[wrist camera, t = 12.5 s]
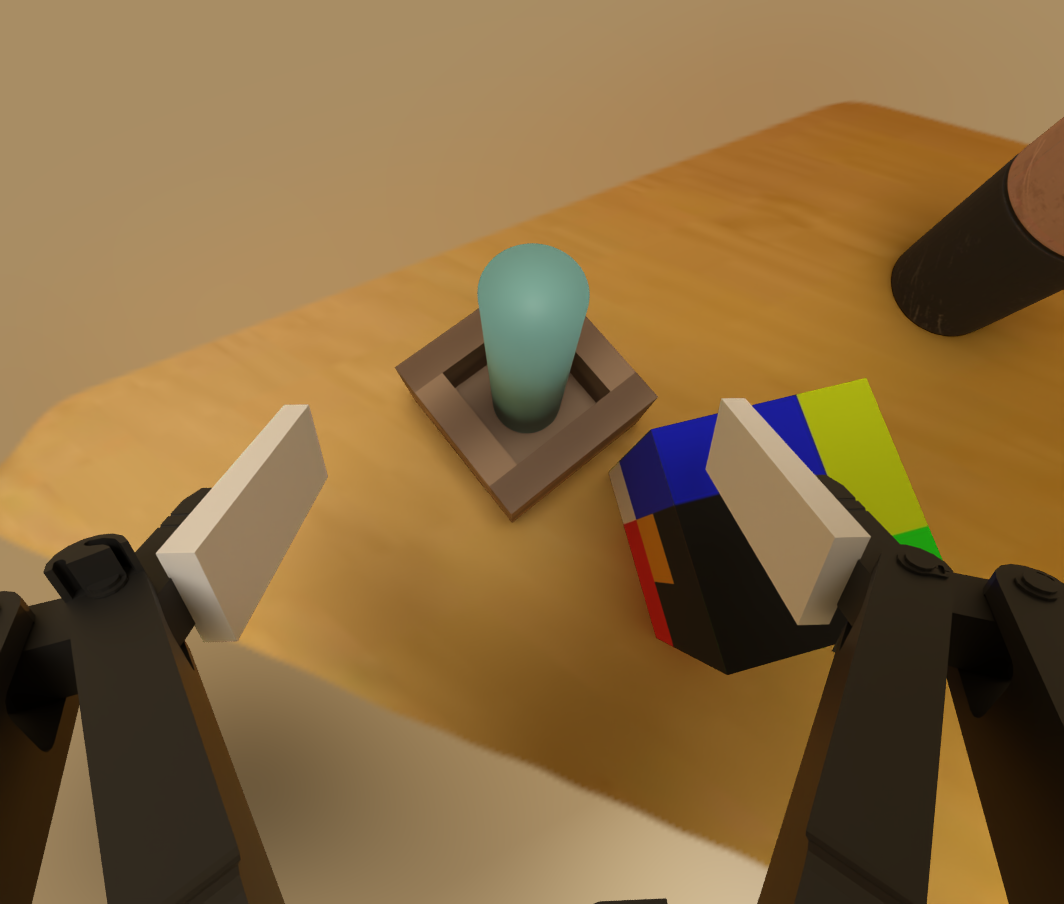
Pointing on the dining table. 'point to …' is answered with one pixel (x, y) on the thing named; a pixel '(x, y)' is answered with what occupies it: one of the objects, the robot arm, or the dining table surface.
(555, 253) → the teal dowel
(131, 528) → the dining table surface
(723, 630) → the puzzle toy
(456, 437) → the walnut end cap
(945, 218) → the travel mug
